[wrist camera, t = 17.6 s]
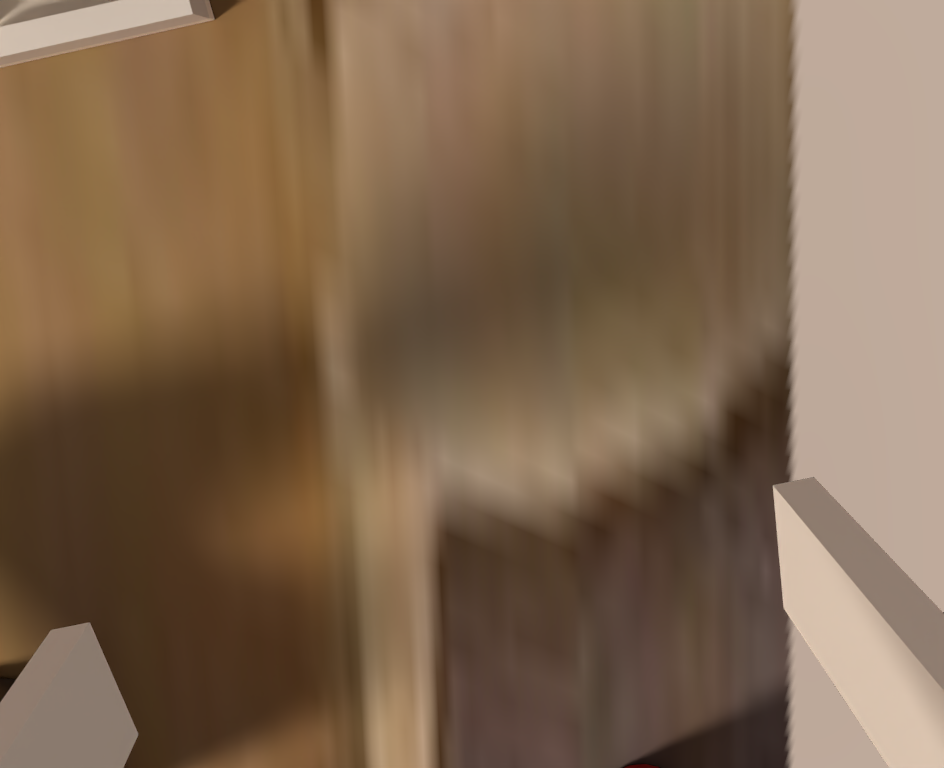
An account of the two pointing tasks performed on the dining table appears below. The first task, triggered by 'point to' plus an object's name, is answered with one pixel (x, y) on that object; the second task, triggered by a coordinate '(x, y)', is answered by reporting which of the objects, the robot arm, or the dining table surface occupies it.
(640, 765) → the plastic cup
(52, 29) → the square tray
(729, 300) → the dining table surface
